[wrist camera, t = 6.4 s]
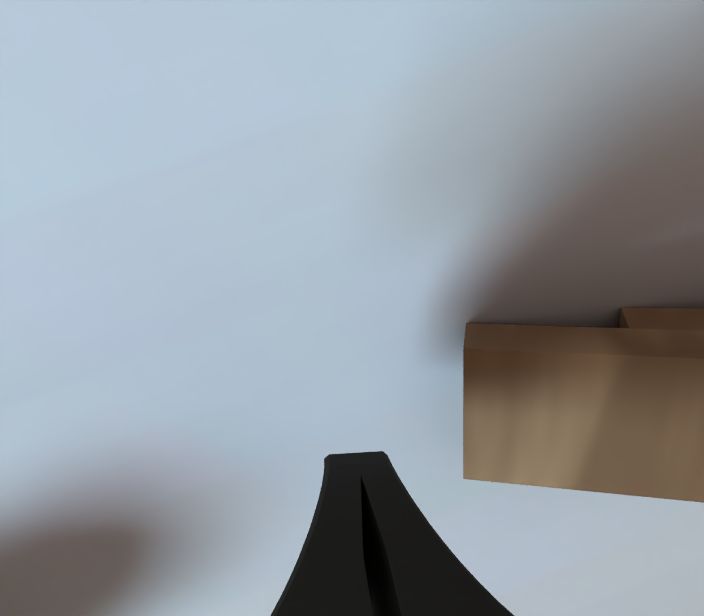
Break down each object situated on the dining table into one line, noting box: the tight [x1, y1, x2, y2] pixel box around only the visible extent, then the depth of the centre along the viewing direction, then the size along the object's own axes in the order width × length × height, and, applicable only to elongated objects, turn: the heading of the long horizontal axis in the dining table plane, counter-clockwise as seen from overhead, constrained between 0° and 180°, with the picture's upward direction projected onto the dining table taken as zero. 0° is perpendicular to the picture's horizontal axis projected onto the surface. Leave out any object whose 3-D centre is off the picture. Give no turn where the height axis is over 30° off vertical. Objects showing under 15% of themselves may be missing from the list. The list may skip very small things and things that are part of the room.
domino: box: [463, 323, 704, 502], centre depth 16 cm, size 1×4×7 cm
